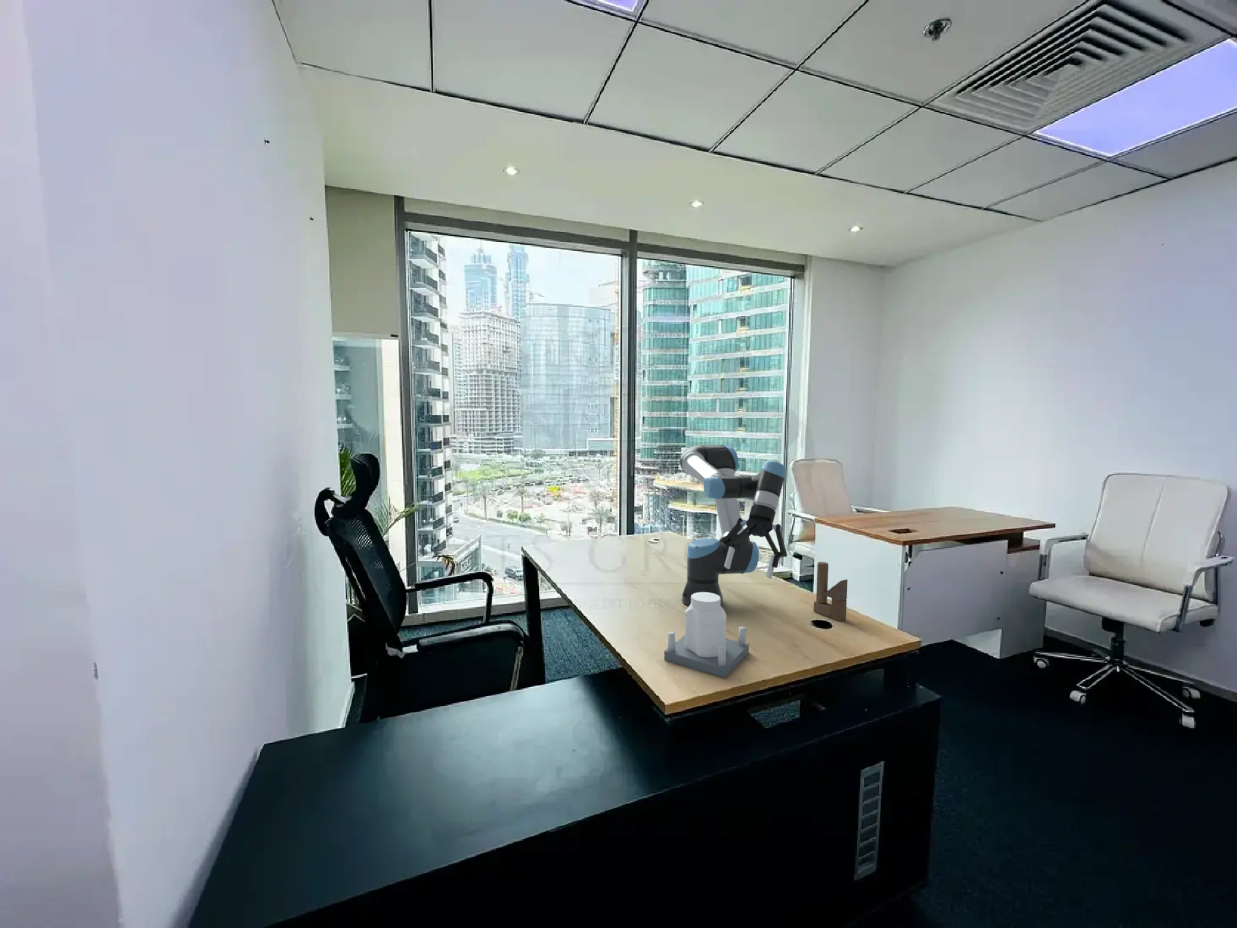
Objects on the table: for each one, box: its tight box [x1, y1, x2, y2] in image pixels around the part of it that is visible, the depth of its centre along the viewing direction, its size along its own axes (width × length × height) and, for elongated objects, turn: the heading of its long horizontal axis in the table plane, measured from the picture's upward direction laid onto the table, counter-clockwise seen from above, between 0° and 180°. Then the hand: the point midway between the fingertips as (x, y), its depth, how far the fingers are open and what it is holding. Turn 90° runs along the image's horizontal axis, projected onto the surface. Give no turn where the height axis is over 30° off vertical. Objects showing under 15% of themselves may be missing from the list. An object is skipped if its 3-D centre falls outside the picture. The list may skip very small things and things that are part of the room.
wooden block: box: [813, 561, 849, 622], centre depth 171 cm, size 4×11×18 cm, turn 29°
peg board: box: [663, 626, 750, 679], centre depth 140 cm, size 18×18×8 cm
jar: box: [684, 592, 727, 658], centre depth 139 cm, size 12×10×15 cm
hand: (747, 572), depth 149 cm, fingers open, 13 cm apart
